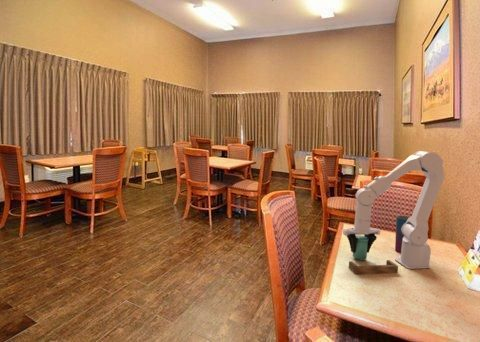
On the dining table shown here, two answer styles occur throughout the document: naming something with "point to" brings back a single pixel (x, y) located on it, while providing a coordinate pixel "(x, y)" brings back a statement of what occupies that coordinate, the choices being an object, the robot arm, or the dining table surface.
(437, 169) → the robot arm
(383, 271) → the dock
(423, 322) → the dining table surface
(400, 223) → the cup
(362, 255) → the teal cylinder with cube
